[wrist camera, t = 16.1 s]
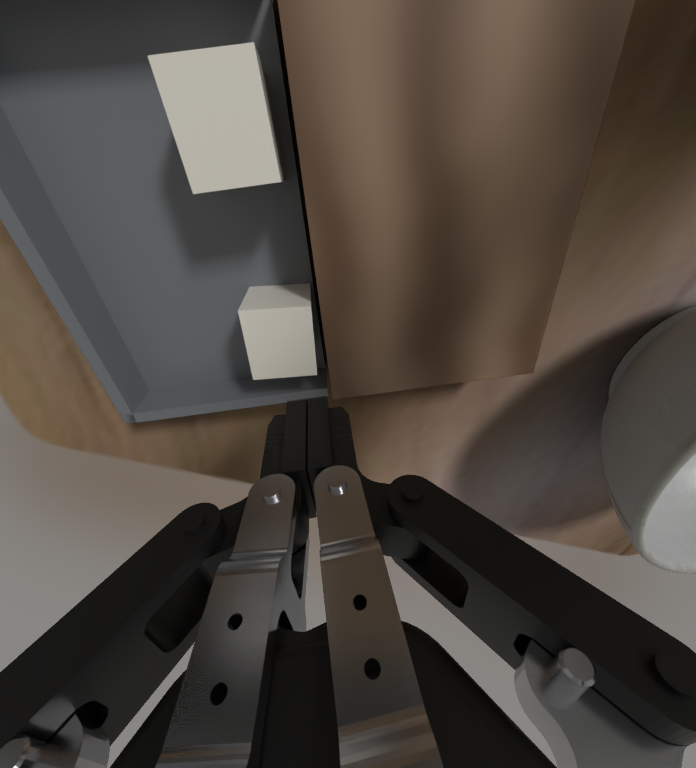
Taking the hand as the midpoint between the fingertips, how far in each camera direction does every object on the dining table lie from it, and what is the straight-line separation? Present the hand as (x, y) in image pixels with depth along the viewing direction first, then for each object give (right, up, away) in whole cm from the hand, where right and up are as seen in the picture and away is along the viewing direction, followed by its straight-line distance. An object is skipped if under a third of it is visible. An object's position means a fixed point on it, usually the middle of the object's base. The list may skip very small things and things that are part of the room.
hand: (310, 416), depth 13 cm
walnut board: (+6, +12, +8) cm, 16 cm away
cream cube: (-2, +14, +3) cm, 14 cm away
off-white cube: (-1, +5, +9) cm, 10 cm away
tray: (-8, +10, +8) cm, 15 cm away
